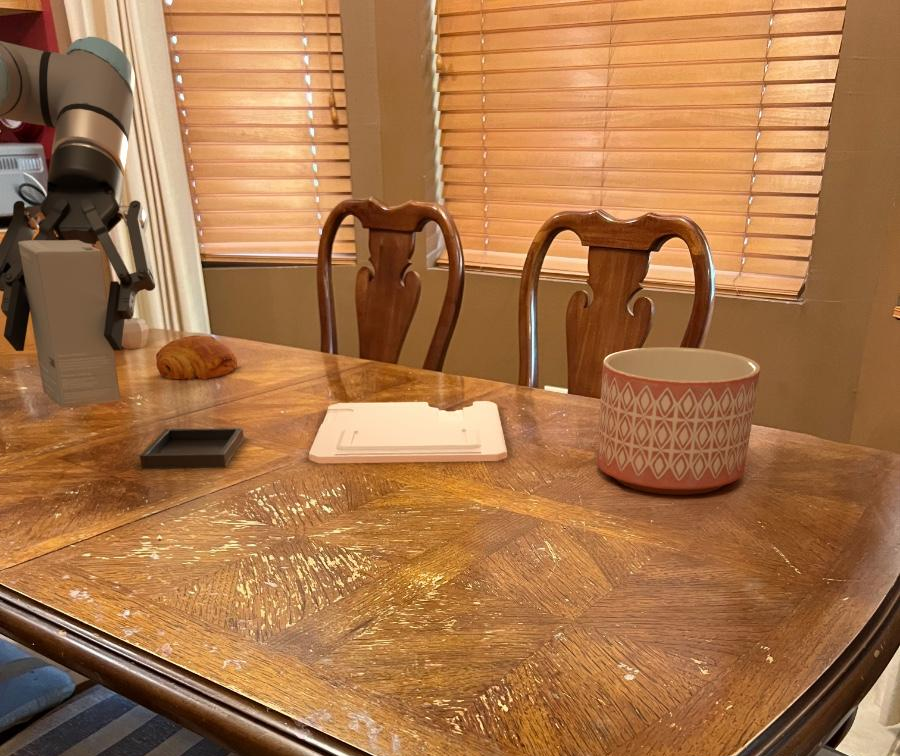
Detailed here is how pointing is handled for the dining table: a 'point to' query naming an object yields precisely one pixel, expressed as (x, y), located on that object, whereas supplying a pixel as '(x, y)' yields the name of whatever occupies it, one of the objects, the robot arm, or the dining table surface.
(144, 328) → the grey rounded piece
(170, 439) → the pad
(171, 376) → the croissant
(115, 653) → the dining table surface
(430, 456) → the tray
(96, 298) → the cosmetic box
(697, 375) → the planter
